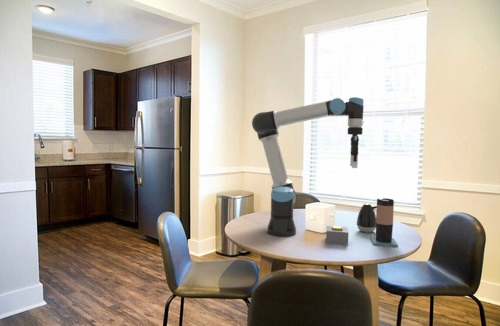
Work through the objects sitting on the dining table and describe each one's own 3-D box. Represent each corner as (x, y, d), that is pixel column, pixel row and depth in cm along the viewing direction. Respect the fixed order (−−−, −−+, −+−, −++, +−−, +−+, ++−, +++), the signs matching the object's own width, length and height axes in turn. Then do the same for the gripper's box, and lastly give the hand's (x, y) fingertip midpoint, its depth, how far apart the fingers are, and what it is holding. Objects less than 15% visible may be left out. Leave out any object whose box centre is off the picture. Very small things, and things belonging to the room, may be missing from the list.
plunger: (332, 240, 167) (333, 227, 166) (332, 237, 170) (332, 225, 170) (341, 240, 166) (341, 228, 165) (340, 238, 170) (341, 226, 169)
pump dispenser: (378, 234, 181) (379, 206, 180) (357, 233, 183) (358, 204, 182) (375, 230, 191) (376, 202, 190) (355, 228, 193) (356, 201, 192)
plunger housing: (326, 243, 164) (326, 230, 164) (326, 237, 174) (326, 225, 174) (348, 245, 162) (348, 232, 162) (346, 239, 172) (347, 227, 171)
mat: (373, 245, 163) (373, 243, 163) (370, 238, 174) (370, 236, 174) (398, 247, 161) (398, 245, 160) (393, 240, 171) (393, 238, 171)
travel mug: (390, 244, 162) (392, 201, 160) (373, 241, 166) (375, 199, 164) (393, 240, 168) (395, 199, 167) (377, 237, 172) (378, 197, 171)
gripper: (364, 126, 171) (363, 169, 172) (360, 127, 195) (359, 165, 197) (349, 126, 173) (347, 168, 174) (346, 127, 197) (345, 165, 198)
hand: (353, 167), depth 185 cm, fingers open, 13 cm apart
